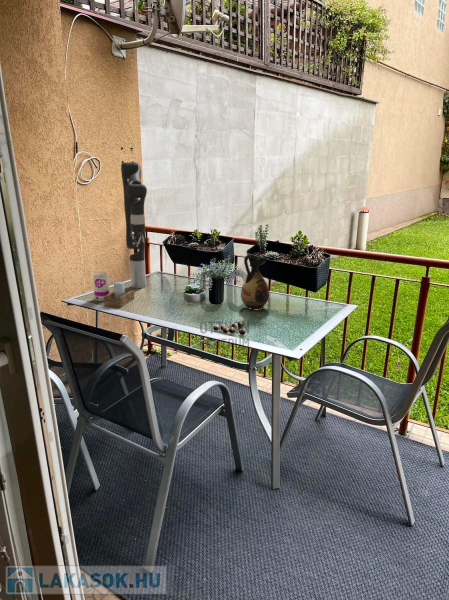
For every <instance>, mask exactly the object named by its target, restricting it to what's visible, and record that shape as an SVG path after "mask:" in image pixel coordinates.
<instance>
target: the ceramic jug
mask: <svg viewBox="0 0 449 600" xmlns="http://www.w3.org/2000/svg"><path fill="white" fill-rule="evenodd" d="M250 259H253V260H252V261H251V263H249V264H248V262H249V261H248V260H250ZM265 263H267V260H265V258H264V257H262V256H260V255H259V256H258V257H256V255H255V254H252V253H248V254H246V255H245V257H244V260H243V264H244V267H245V271H246V278H245V280H244V282H243V284H242V286H241V290H240V299H241V301H242V303H243V304H244V305H245V308H246V307H247V308H251V309H261V308H263V309H264V307H265V305H266V304H267V302H268V301H269V298H270V291H269V290H270V289H269V287H268V284H267V281H266V280H265V278H264V276H263V275H262V274H261V272H260V269H259V267H260V266H262V265H265ZM249 267H252V268H251V270H250V268H249Z"/></svg>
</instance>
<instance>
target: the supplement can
mask: <svg viewBox="0 0 449 600" xmlns="http://www.w3.org/2000/svg"><path fill="white" fill-rule="evenodd" d="M92 279H93V290H94V299H95V300H96V301H98V302H104V296H106V295H108V294H110V281H109V275H108V273H107V272H103V271H102V272H95V273H94V275H93V277H92Z"/></svg>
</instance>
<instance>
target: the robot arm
mask: <svg viewBox="0 0 449 600" xmlns="http://www.w3.org/2000/svg"><path fill="white" fill-rule="evenodd" d="M120 171H121V179H122V180H121V181H122V189H123V206H124V207H123V208H124V217H125V230H126V231H125V240H126V241H125V243H126V244H125V245H126V248H128V249H129V250H133V253H132V254H130V255H129V267H130V268H129V271H130V272H129V273H130V287H131V288H134V289H143V288H145V287H146V286H147V279H146V277H147V276H146V258H145V257H146V256H145V250H146V249H145V246H146V245H145V242H146V241H147V240H146V239H147V237H146V218H145V202H146V198H147V195H148V194H147V193H148V189H147V187H146V185H145V184H143V183H142V168H141V165H140V163H138V162H135V161H134V162H128V161H127V162H122V163H121V165H120Z"/></svg>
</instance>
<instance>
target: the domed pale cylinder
mask: <svg viewBox="0 0 449 600" xmlns="http://www.w3.org/2000/svg"><path fill="white" fill-rule="evenodd" d="M113 291H114V296H115V301H119V298H120V297H122V296H123V295H125V293H126V292H125V282H124V281H115V282H113Z"/></svg>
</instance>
